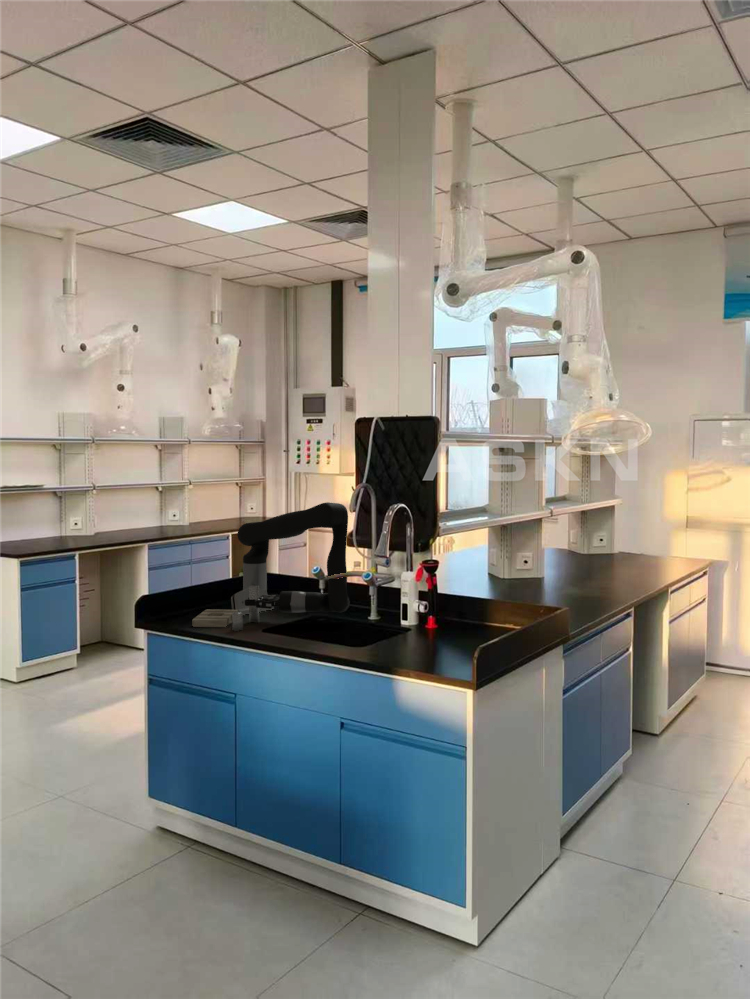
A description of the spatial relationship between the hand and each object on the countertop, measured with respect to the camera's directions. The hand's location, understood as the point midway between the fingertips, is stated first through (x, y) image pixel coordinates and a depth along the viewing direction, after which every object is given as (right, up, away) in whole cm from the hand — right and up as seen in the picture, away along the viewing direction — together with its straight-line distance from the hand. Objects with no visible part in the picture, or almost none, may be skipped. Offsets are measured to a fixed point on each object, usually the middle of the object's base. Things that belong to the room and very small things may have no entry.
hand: (246, 601), depth 283 cm
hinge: (-1, -7, +19) cm, 20 cm away
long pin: (+3, -8, 0) cm, 8 cm away
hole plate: (-11, -7, +1) cm, 14 cm away
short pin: (-1, -8, -12) cm, 15 cm away
